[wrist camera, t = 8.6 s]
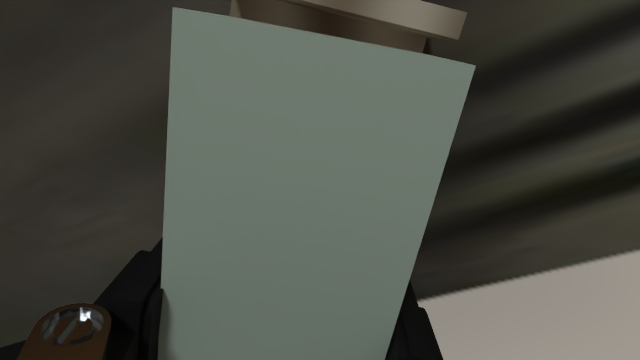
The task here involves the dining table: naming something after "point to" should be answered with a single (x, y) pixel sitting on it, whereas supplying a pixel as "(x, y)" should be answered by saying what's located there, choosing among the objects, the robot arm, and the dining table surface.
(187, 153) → the grey-green rectangular block
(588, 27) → the dining table surface
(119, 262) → the dining table surface
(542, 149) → the dining table surface
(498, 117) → the dining table surface
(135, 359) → the robot arm
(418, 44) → the shelf frame
